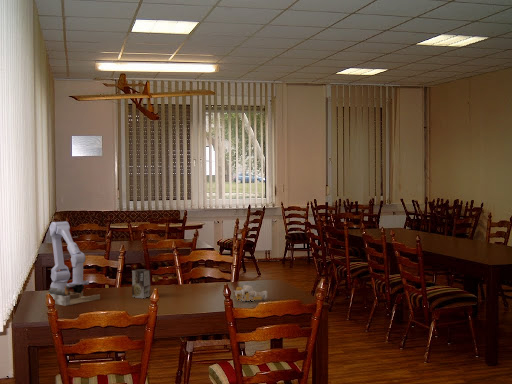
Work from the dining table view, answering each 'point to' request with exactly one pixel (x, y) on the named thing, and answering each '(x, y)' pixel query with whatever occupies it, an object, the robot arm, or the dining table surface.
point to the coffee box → (140, 283)
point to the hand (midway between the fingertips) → (77, 298)
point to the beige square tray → (74, 295)
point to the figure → (249, 294)
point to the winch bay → (64, 299)
